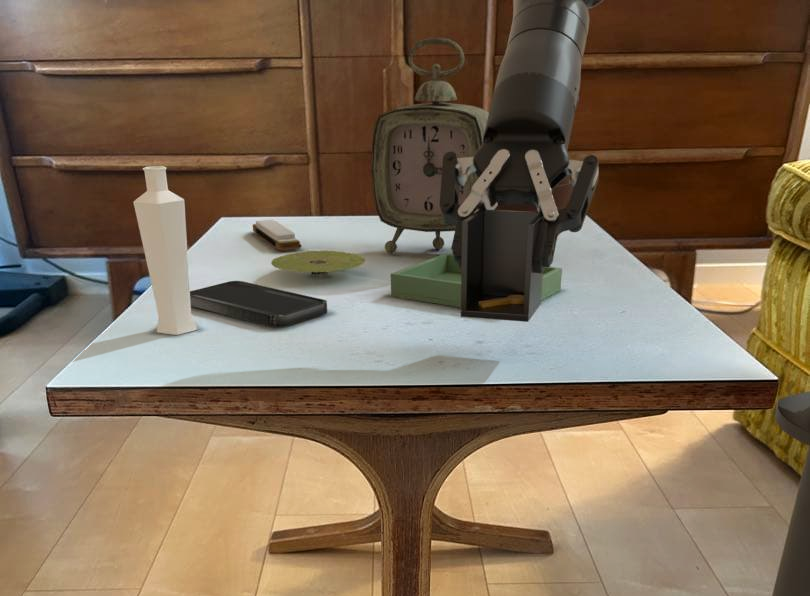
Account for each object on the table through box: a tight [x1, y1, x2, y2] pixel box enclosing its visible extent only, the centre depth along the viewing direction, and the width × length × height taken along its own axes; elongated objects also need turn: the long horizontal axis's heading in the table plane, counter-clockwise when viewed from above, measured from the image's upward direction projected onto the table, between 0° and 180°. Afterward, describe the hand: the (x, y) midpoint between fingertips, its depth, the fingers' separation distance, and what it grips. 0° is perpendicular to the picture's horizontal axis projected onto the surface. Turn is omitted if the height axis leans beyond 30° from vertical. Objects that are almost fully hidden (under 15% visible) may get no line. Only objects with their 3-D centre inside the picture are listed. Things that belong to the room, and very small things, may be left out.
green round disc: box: [270, 250, 366, 278], centre depth 106 cm, size 11×11×2 cm
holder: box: [460, 209, 544, 323], centre depth 76 cm, size 6×6×8 cm
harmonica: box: [252, 219, 302, 251], centre depth 124 cm, size 15×3×2 cm, turn 23°
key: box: [479, 295, 524, 308], centre depth 78 cm, size 5×2×1 cm, turn 117°
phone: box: [190, 280, 328, 328], centre depth 94 cm, size 8×1×15 cm
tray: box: [390, 252, 563, 308], centre depth 99 cm, size 15×12×2 cm
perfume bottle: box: [132, 165, 198, 336], centre depth 84 cm, size 5×4×15 cm
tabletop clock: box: [370, 37, 489, 254], centre depth 112 cm, size 14×9×25 cm, turn 73°
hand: (499, 265), depth 75 cm, fingers closed on holder, 6 cm apart
